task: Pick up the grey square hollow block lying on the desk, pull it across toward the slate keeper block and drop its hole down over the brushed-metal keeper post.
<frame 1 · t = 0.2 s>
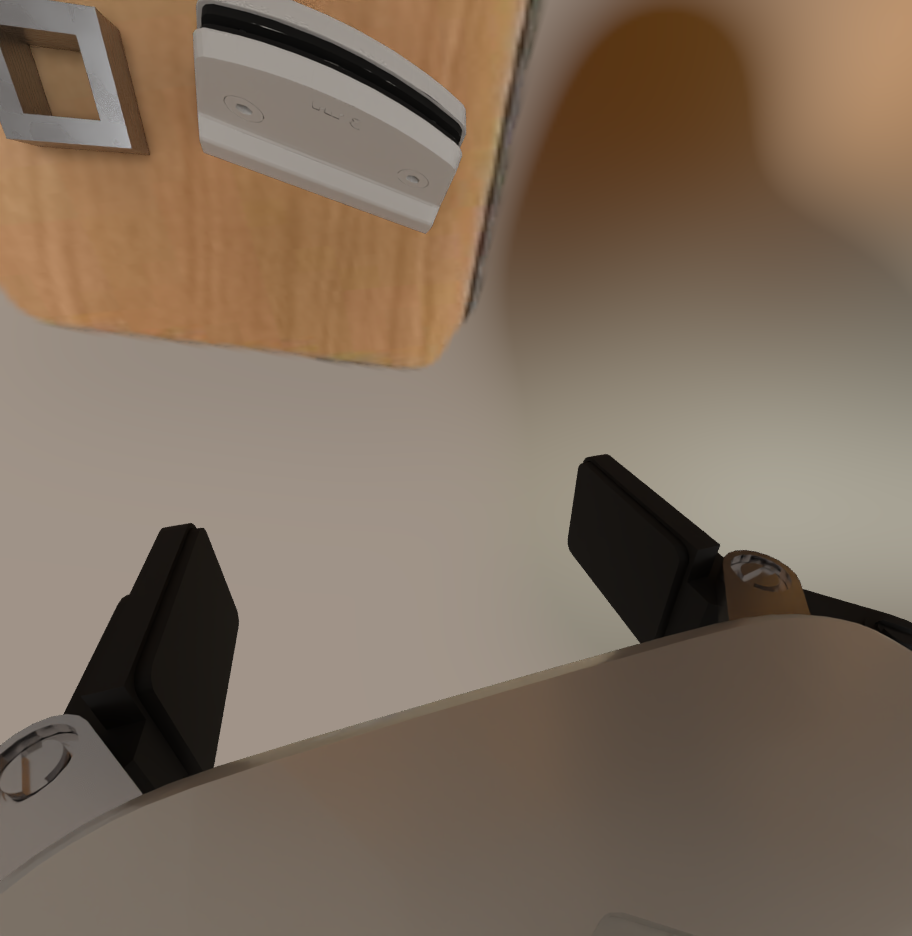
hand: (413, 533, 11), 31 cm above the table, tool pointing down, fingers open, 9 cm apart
grey square hollow block: (78, 89, 26), on the table
grey slotted holder: (334, 136, 31), on the table
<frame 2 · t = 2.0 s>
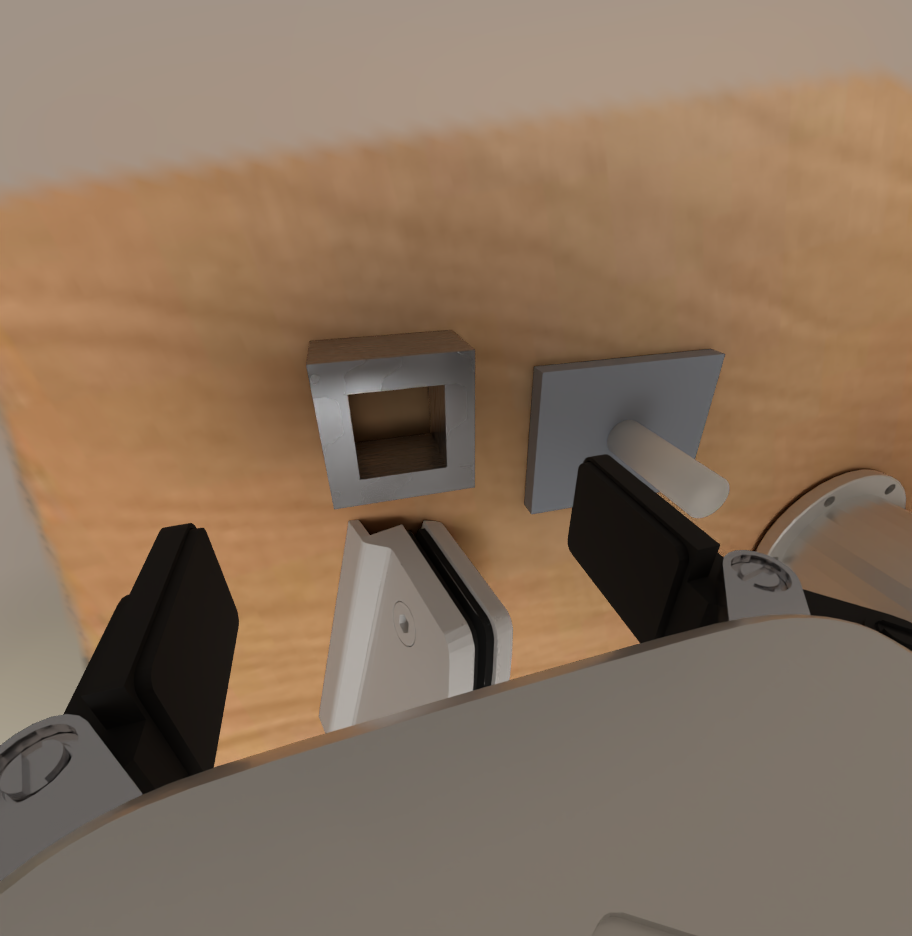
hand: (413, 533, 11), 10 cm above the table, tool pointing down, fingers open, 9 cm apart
grey square hollow block: (389, 402, 20), on the table
grey slotted holder: (395, 624, 27), on the table
keeper: (613, 429, 24), on the table
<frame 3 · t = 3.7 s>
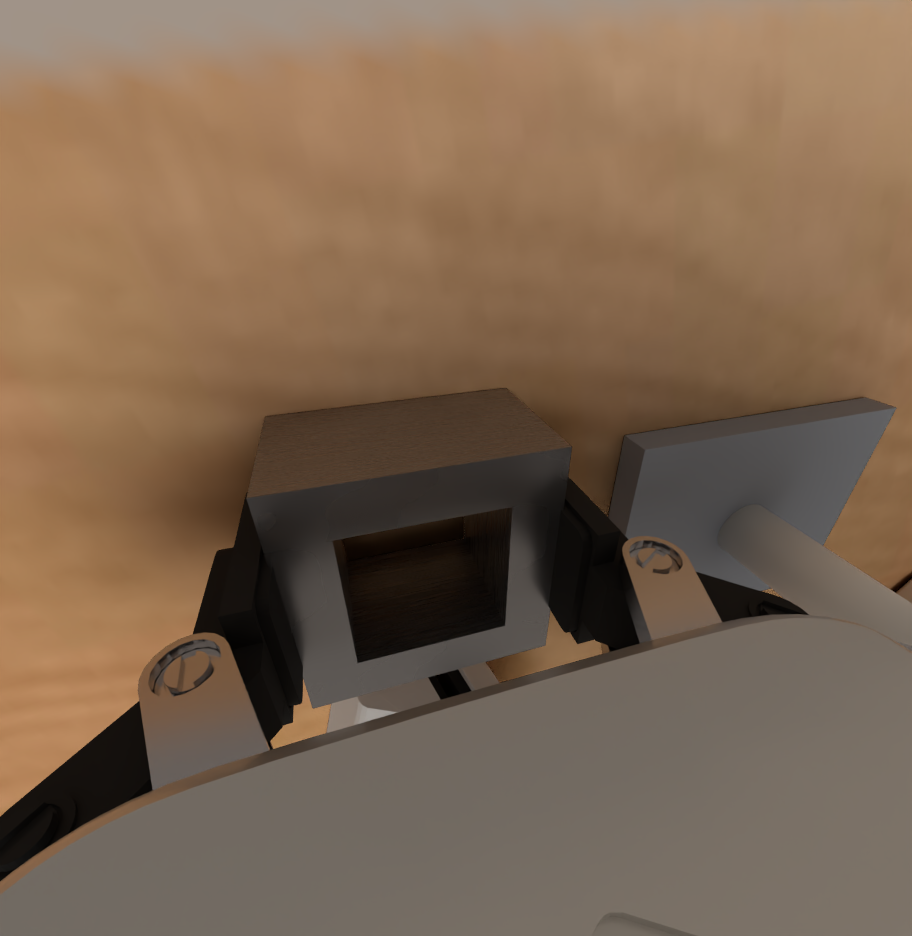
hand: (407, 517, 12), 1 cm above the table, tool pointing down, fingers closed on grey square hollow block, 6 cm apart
grey square hollow block: (402, 500, 12), on the table, touching gripper
grey slotted holder: (405, 764, 20), on the table
keeper: (719, 511, 17), on the table
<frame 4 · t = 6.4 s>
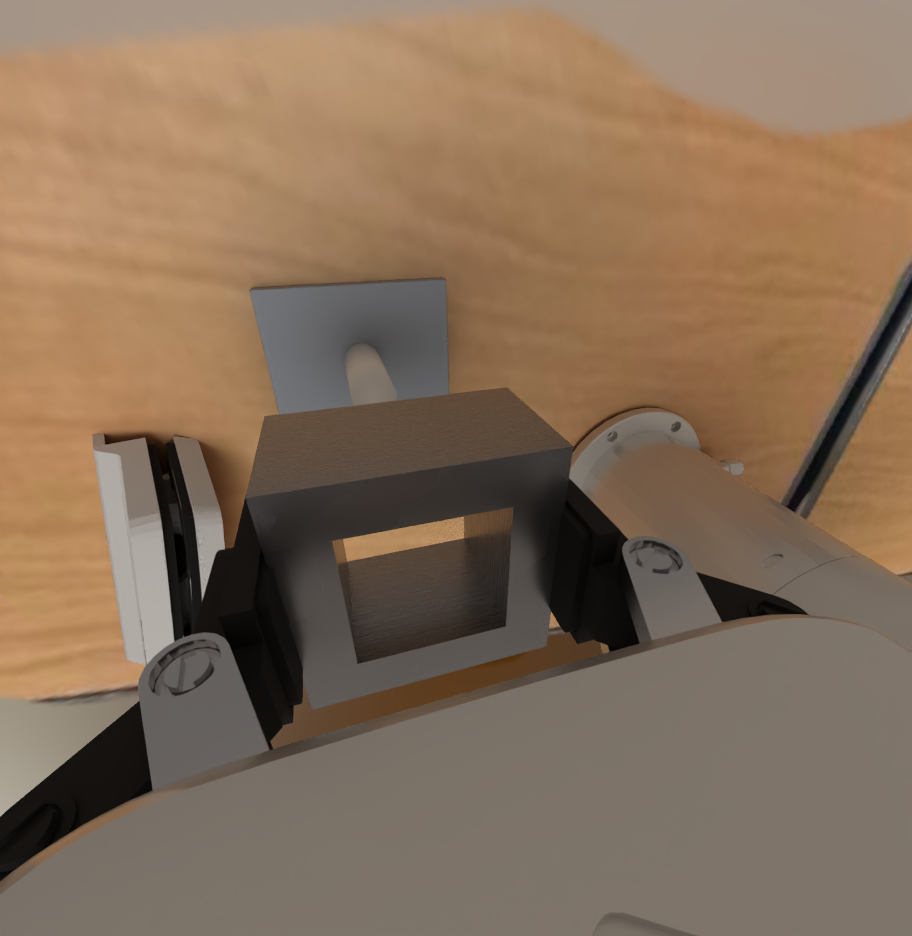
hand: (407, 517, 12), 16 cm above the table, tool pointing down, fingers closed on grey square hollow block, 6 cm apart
grey square hollow block: (402, 500, 12), point 16 cm above the table, touching gripper
grey slotted holder: (183, 547, 29), on the table
keeper: (360, 356, 25), on the table
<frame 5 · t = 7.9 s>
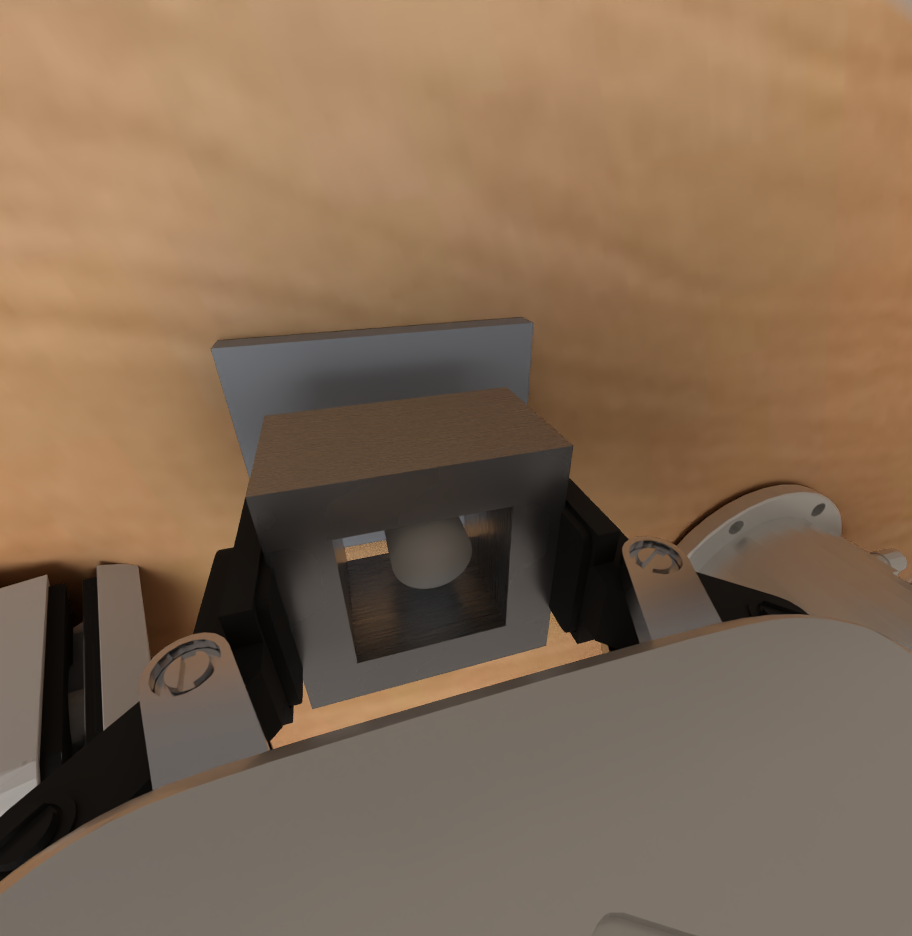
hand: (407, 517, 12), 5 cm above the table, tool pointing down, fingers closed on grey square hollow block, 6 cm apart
grey square hollow block: (402, 500, 12), point 5 cm above the table, touching gripper
grey slotted holder: (129, 700, 20), on the table
keeper: (392, 436, 16), on the table
when the fingers open (3 cm above the table, at t = 9.1 s): grey square hollow block drops 2 cm, resting on keeper.
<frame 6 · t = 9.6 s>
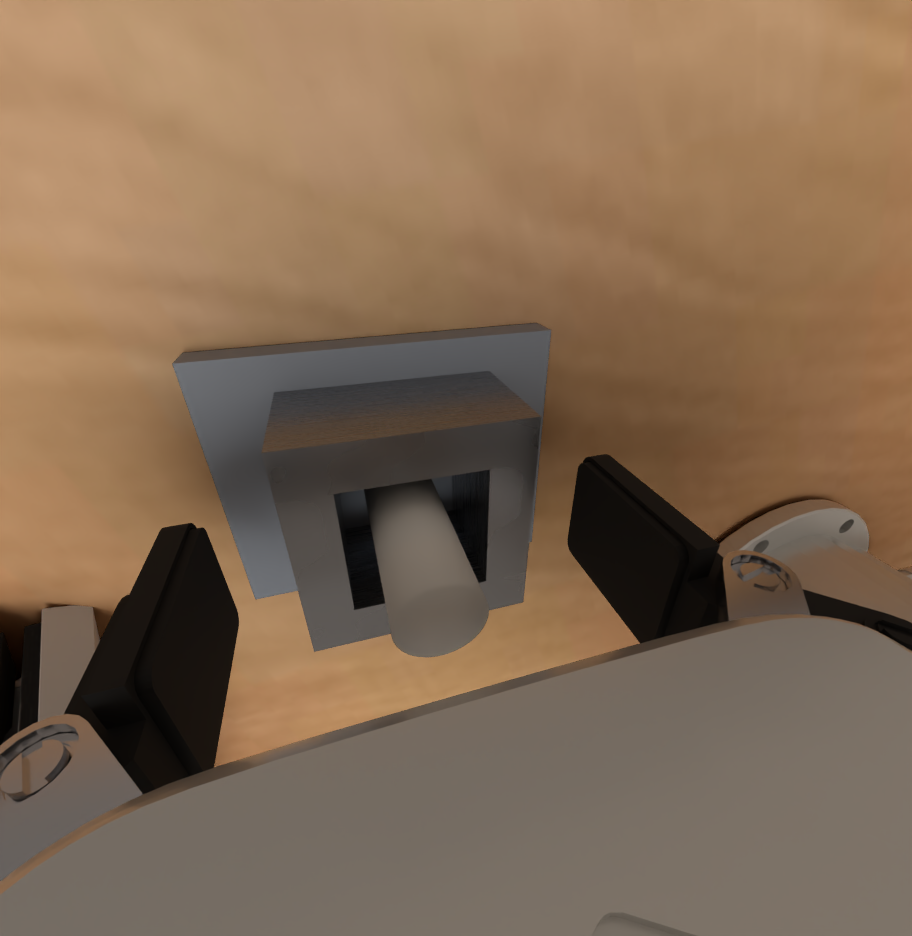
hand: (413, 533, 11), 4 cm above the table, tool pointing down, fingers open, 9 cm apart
grey square hollow block: (396, 473, 14), point 1 cm above the table, touching keeper
grey slotted holder: (93, 748, 18), on the table
keeper: (389, 458, 14), on the table
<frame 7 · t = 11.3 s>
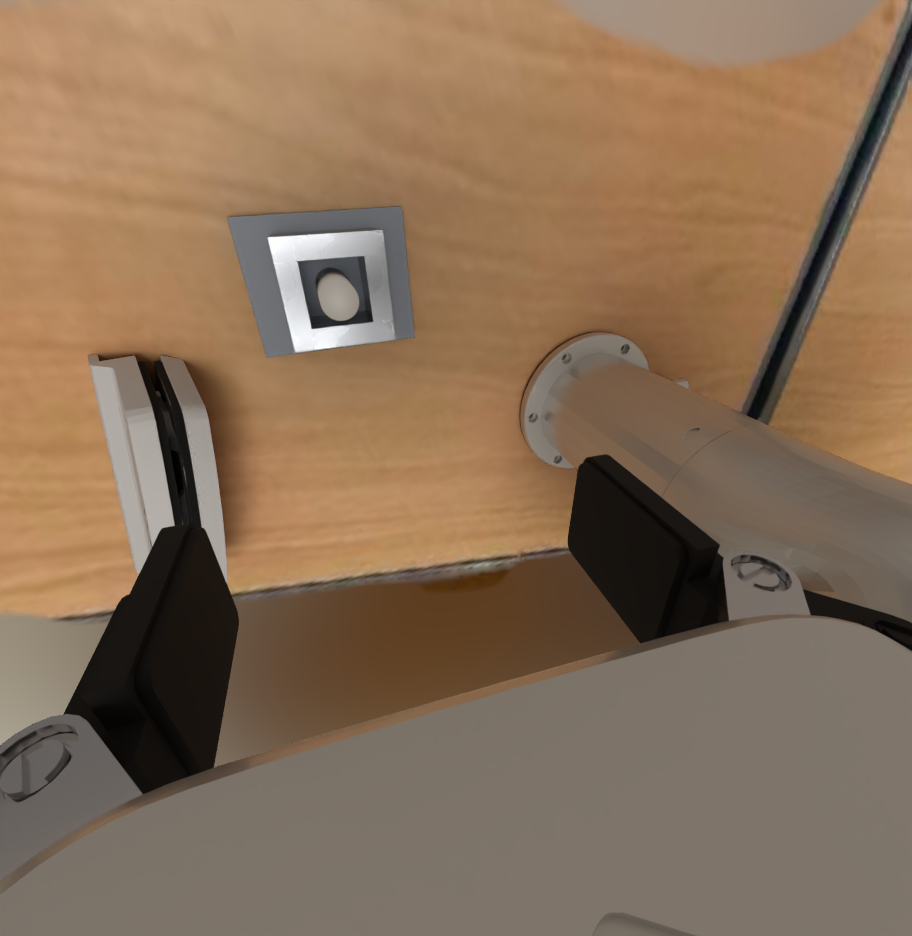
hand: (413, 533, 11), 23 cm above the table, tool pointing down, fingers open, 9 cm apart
grey square hollow block: (333, 284, 28), point 1 cm above the table, touching keeper
grey slotted holder: (179, 466, 32), on the table
keeper: (330, 282, 28), on the table
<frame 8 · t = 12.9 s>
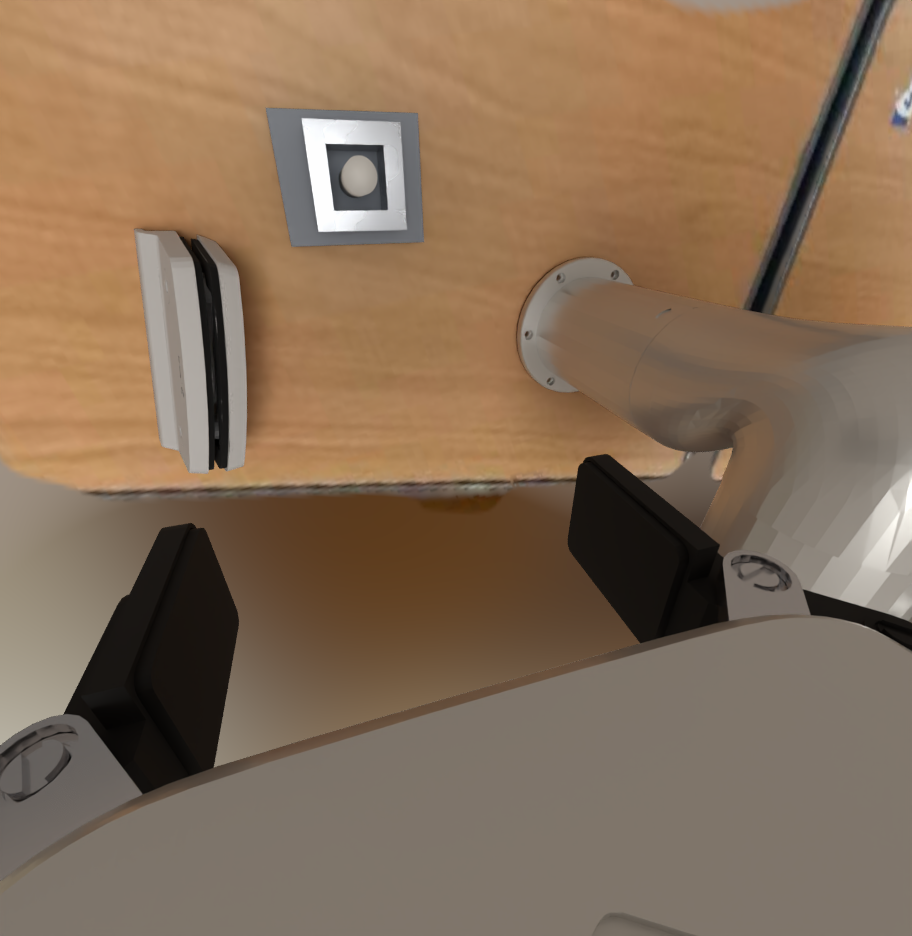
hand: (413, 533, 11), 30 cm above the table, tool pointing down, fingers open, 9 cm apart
grey square hollow block: (353, 181, 31), point 1 cm above the table, touching keeper
grey slotted holder: (205, 349, 35), on the table
keeper: (351, 182, 32), on the table
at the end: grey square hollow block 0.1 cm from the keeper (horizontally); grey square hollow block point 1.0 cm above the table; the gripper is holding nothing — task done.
